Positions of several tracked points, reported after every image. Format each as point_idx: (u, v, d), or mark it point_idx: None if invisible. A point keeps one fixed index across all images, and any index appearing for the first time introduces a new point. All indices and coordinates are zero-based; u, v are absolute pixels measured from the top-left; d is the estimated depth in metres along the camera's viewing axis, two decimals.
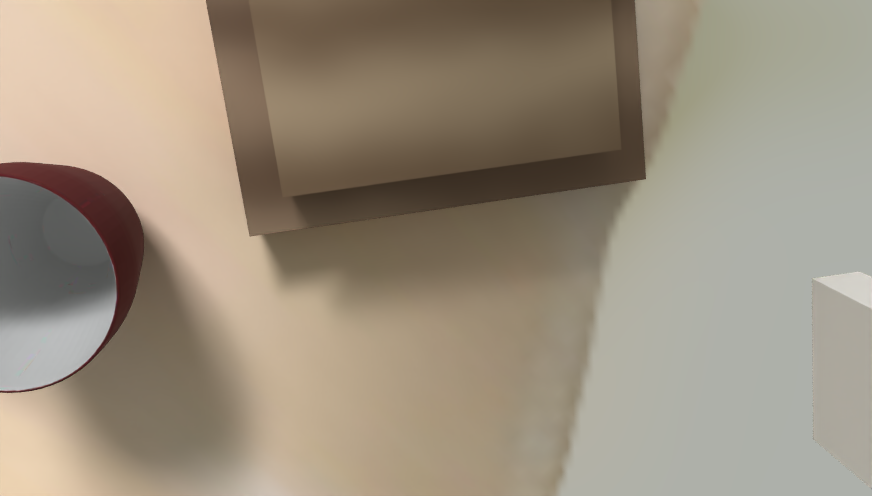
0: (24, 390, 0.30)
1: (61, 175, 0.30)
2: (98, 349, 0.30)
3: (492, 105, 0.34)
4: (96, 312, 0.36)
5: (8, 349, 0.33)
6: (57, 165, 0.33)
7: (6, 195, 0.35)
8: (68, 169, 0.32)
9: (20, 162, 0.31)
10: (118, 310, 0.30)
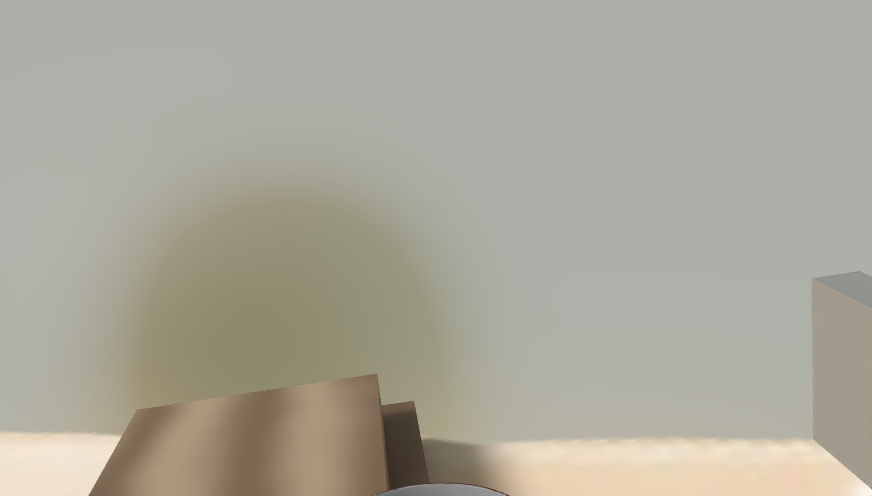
0: None
1: None
2: (495, 490, 0.28)
3: (333, 419, 0.44)
4: None
5: None
6: None
7: None
8: None
9: None
10: None
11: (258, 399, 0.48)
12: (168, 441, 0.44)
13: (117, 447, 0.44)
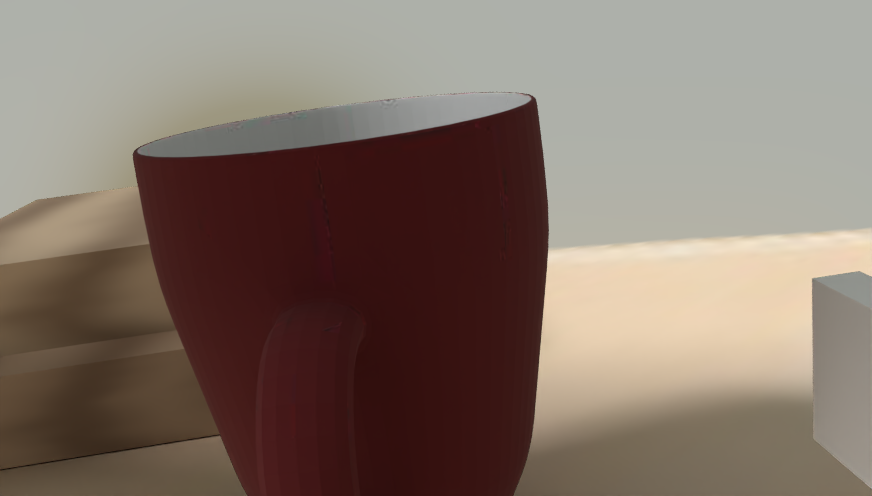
0: (529, 95, 0.17)
1: None
2: None
3: None
4: None
5: None
6: None
7: None
8: None
9: None
10: (400, 104, 0.21)
11: None
12: (63, 211, 0.35)
13: (0, 219, 0.35)
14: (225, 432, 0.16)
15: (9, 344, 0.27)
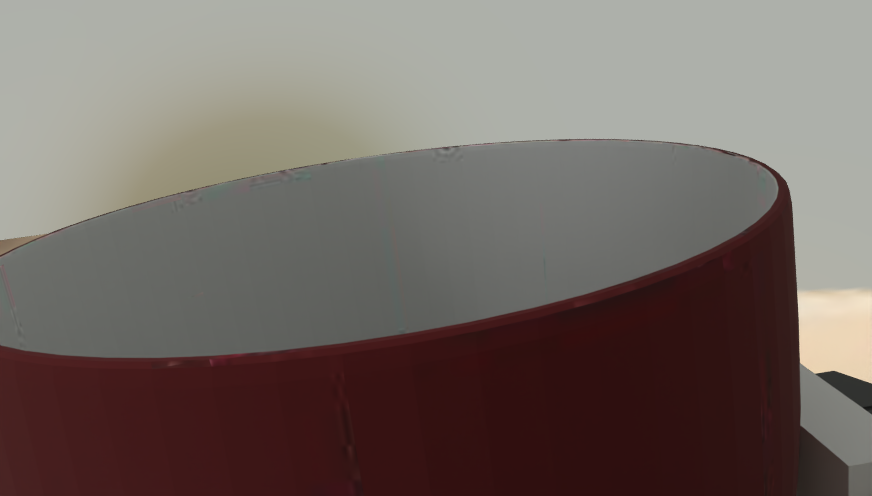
0: (740, 156, 0.09)
1: None
2: None
3: None
4: None
5: None
6: None
7: None
8: None
9: None
10: (467, 155, 0.12)
11: None
12: None
13: None
14: None
15: None
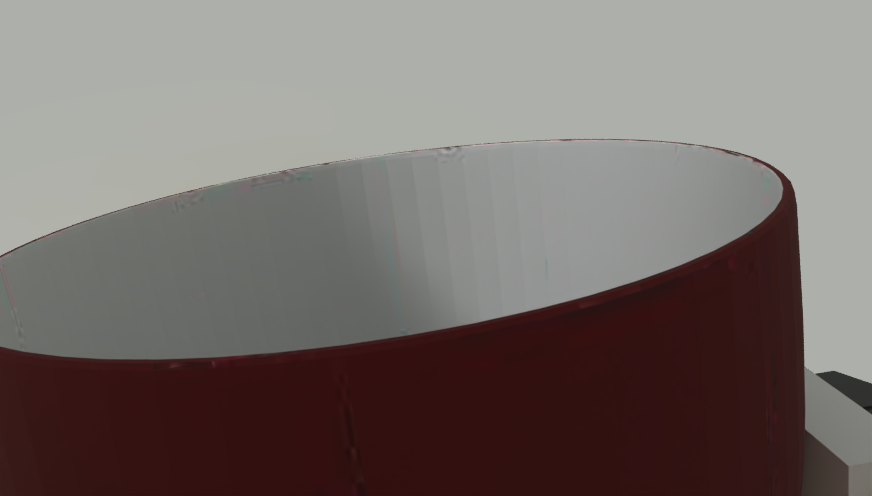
0: (744, 156, 0.09)
1: None
2: (569, 139, 0.11)
3: None
4: None
5: None
6: None
7: None
8: None
9: None
10: (469, 155, 0.12)
11: None
12: None
13: None
14: None
15: None
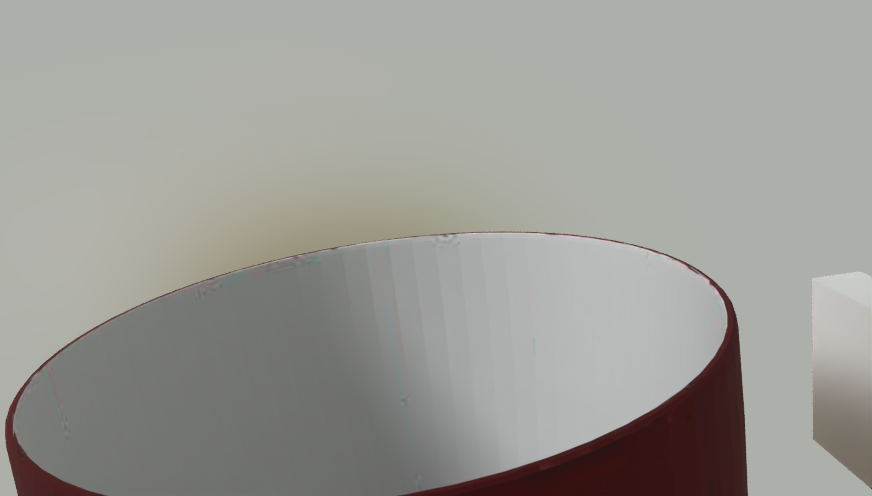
0: (703, 275, 0.10)
1: None
2: None
3: None
4: None
5: None
6: None
7: None
8: None
9: None
10: (464, 241, 0.13)
11: None
12: None
13: None
14: None
15: None
